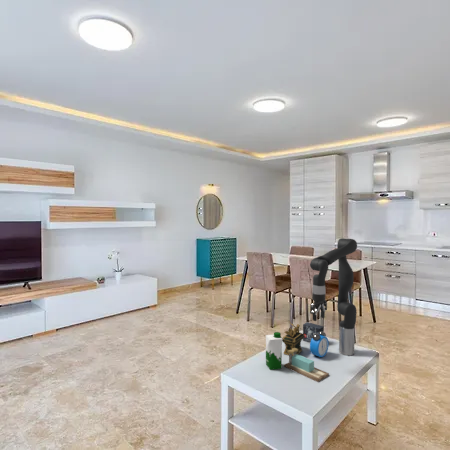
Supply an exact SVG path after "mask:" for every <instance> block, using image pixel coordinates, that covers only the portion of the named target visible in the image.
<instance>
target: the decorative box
mask: <svg viewBox="0 0 450 450" xmlns="http://www.w3.org/2000/svg"><path fill="white" fill-rule="evenodd" d="M289 324H290V325H291V326H293V327H294V328H292V327H291V326H290V327H289V328H288V329H287V330H286V331H285V332H284V333H285V335H284V336H283V337H281V338H282V343H283V344H284V346H285V348H284V350H283V354H284V355H287V356H289V353H288V350H292V348H297V349H298V352H296V354H298V355H300V354H301V352H302V351H303V349H302V346H301V343H302V341H303V338H304V337H305V335H304V334H303V332H300V324H298V323H296V325H294V324H293V323H291V322H289ZM292 356H293V354H292Z"/></svg>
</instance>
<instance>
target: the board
mask: <svg viewBox="0 0 450 450" xmlns="http://www.w3.org/2000/svg"><path fill="white" fill-rule="evenodd" d="M296 352H298V349H297V348H292V350H288V353H289V355H288V362H287V363H284V365H283V367H285V368H286V369H288V370H291V371H293V372H295V373H297V374H299V375H301V376H304V377H306V378H308V379H310V380H313V381H315V382H317V383H319V382H320V381H322V380H323V379H326V378H328V377H329V375H330V373H329V372H327V371H325V370H322V369H319V368H317V367H315V366H314V370H312V371H311V372H307V371H305V370H303V369H300V368H298V367H296V366H294V365H292V354H293V356H294V355H296Z"/></svg>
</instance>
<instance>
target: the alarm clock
mask: <svg viewBox="0 0 450 450" xmlns="http://www.w3.org/2000/svg"><path fill="white" fill-rule="evenodd" d="M322 335H323V336H322ZM329 344H330V342H329V339H328V338H327V334H326V332H325V331H323V332H322V331H320V332H319V333H318V334H317V333H316V334H313V336H312V339H311V342H309V351H310V353H311V354H312V355H313V356H316V357H318V359H320V358H324V357H325V356H326V355H327V353H328V350H329Z"/></svg>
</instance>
